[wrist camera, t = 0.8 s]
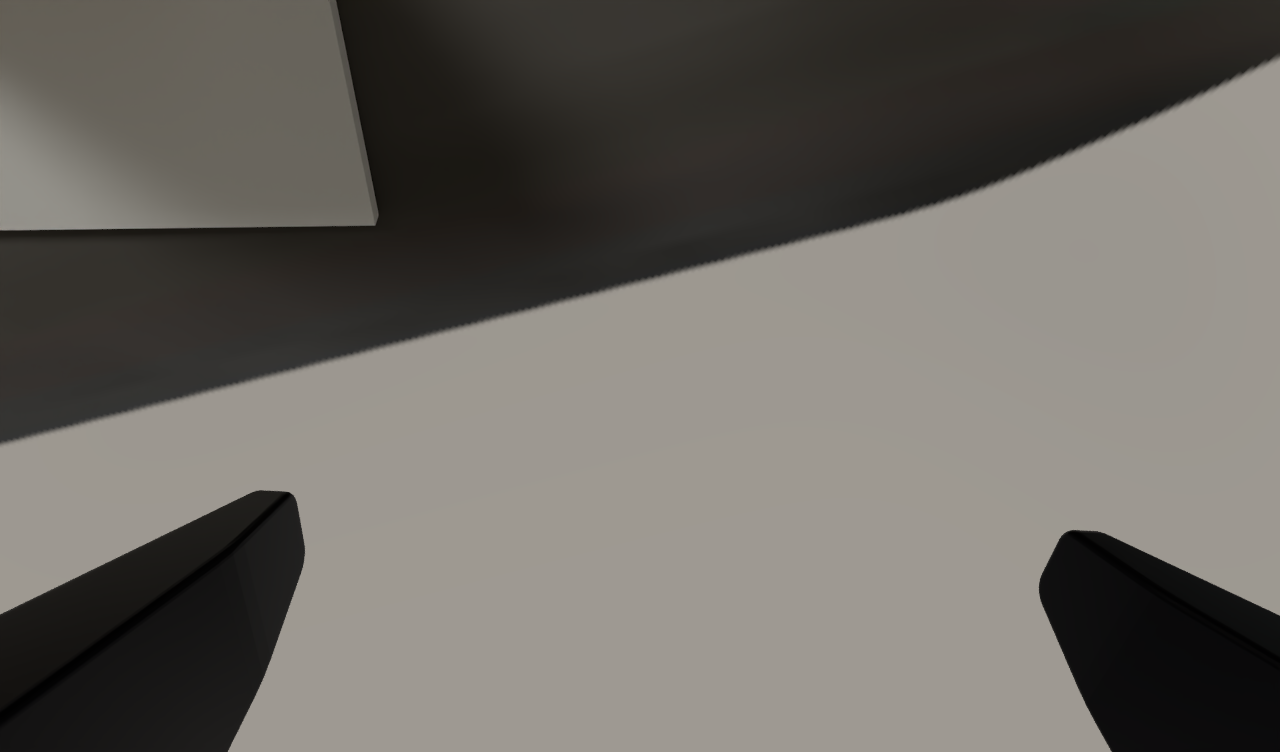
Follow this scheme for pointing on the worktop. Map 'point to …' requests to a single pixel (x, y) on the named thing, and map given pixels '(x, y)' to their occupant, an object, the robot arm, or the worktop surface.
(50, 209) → the mat
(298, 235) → the worktop surface
